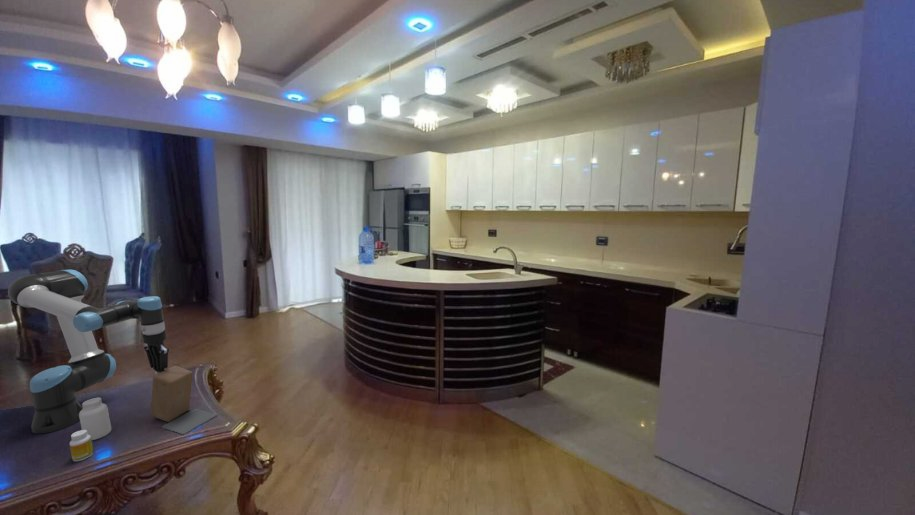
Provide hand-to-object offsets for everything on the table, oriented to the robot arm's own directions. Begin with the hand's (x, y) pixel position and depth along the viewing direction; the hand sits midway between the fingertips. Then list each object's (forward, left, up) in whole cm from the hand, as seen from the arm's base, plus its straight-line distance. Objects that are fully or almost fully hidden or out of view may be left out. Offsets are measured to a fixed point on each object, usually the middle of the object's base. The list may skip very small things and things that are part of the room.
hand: (161, 383), depth 153 cm
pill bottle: (-9, -19, -15) cm, 26 cm away
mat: (+17, 0, -15) cm, 22 cm away
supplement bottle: (+2, -28, -15) cm, 32 cm away
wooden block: (+4, 0, -14) cm, 14 cm away
